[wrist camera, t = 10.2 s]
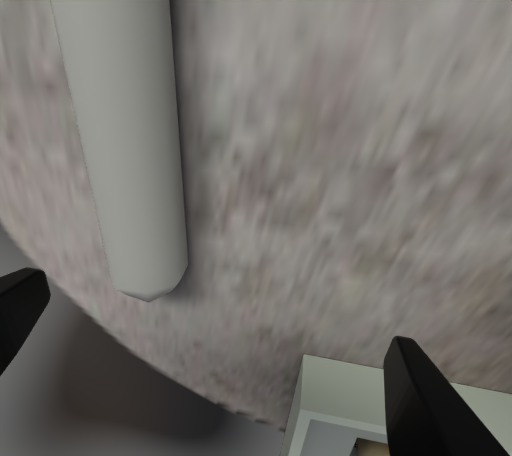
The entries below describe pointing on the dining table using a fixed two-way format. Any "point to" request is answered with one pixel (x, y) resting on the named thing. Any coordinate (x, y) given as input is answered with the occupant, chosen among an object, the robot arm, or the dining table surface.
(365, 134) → the dining table surface
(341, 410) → the caddy
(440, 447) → the robot arm
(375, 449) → the peg
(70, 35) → the tube
